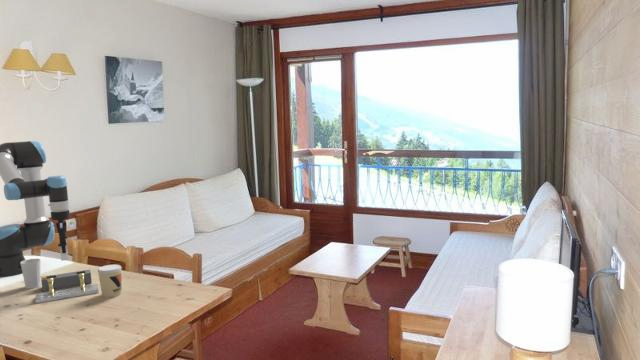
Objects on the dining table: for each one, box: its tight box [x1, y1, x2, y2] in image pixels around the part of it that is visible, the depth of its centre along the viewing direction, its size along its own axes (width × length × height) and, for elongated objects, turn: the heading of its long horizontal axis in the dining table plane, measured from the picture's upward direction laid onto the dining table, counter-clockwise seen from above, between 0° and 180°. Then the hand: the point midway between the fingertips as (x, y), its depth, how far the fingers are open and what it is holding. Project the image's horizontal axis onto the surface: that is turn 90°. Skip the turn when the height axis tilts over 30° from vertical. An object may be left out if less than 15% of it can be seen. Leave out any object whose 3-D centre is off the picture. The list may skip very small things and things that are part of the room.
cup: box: [20, 258, 42, 290], centre depth 232 cm, size 8×8×12 cm
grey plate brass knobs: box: [35, 273, 99, 304], centre depth 219 cm, size 24×8×8 cm, turn 117°
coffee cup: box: [97, 264, 123, 298], centre depth 218 cm, size 9×9×12 cm
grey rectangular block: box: [41, 269, 92, 292], centre depth 232 cm, size 20×6×6 cm, turn 117°
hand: (64, 256), depth 231 cm, fingers open, 13 cm apart
